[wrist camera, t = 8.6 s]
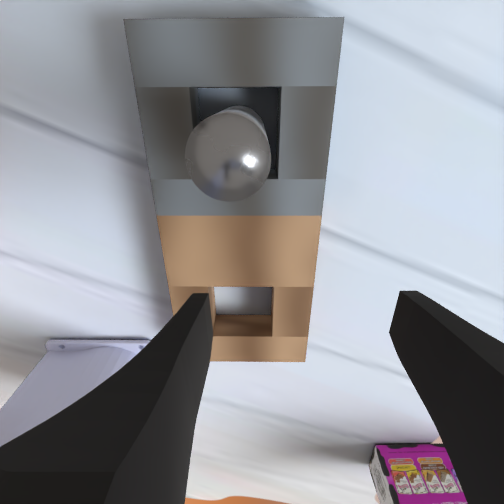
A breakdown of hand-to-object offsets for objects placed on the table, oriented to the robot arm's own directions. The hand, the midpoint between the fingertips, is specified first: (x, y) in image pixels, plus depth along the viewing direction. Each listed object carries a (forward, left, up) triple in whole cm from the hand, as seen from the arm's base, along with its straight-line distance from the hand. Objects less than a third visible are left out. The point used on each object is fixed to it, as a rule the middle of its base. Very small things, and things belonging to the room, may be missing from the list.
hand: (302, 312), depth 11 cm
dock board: (-3, 0, -10) cm, 11 cm away
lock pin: (-3, +5, -10) cm, 12 cm away
